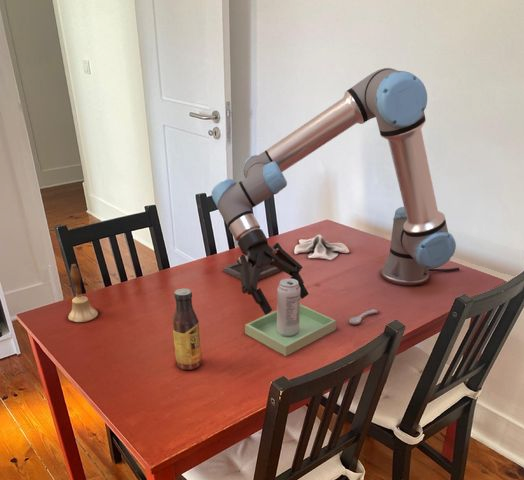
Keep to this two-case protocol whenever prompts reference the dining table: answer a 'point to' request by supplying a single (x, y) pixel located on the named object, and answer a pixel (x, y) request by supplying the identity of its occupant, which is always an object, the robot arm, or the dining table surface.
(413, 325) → the dining table surface
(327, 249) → the cloth
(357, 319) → the spoon
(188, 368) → the sauce bottle
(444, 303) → the dining table surface
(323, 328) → the tray
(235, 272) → the picture frame
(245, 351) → the dining table surface
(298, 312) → the energy drink can
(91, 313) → the hand bell
